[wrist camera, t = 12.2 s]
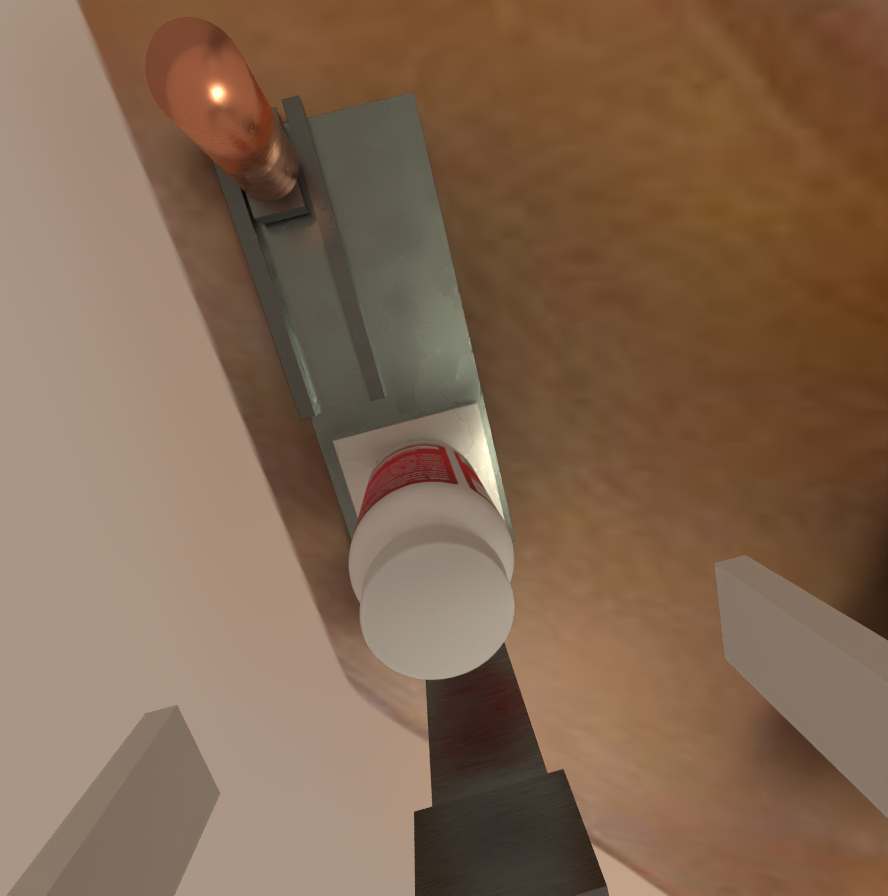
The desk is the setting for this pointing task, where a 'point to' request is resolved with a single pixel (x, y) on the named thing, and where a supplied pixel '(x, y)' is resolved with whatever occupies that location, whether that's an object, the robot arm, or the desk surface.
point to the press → (398, 422)
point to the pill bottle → (431, 564)
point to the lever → (225, 114)
